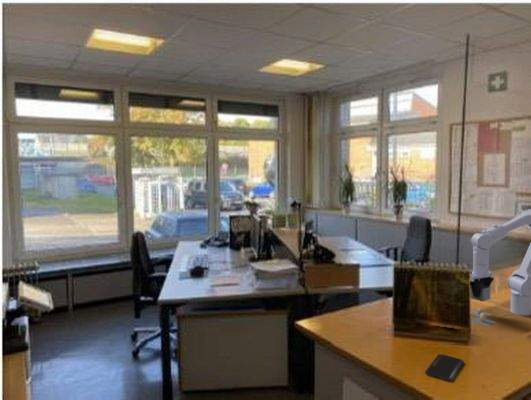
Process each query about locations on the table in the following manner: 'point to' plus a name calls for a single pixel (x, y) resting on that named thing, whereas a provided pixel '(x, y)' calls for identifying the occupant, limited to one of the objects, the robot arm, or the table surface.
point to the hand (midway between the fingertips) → (480, 295)
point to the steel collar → (482, 293)
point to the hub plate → (487, 322)
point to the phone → (444, 367)
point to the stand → (479, 312)
